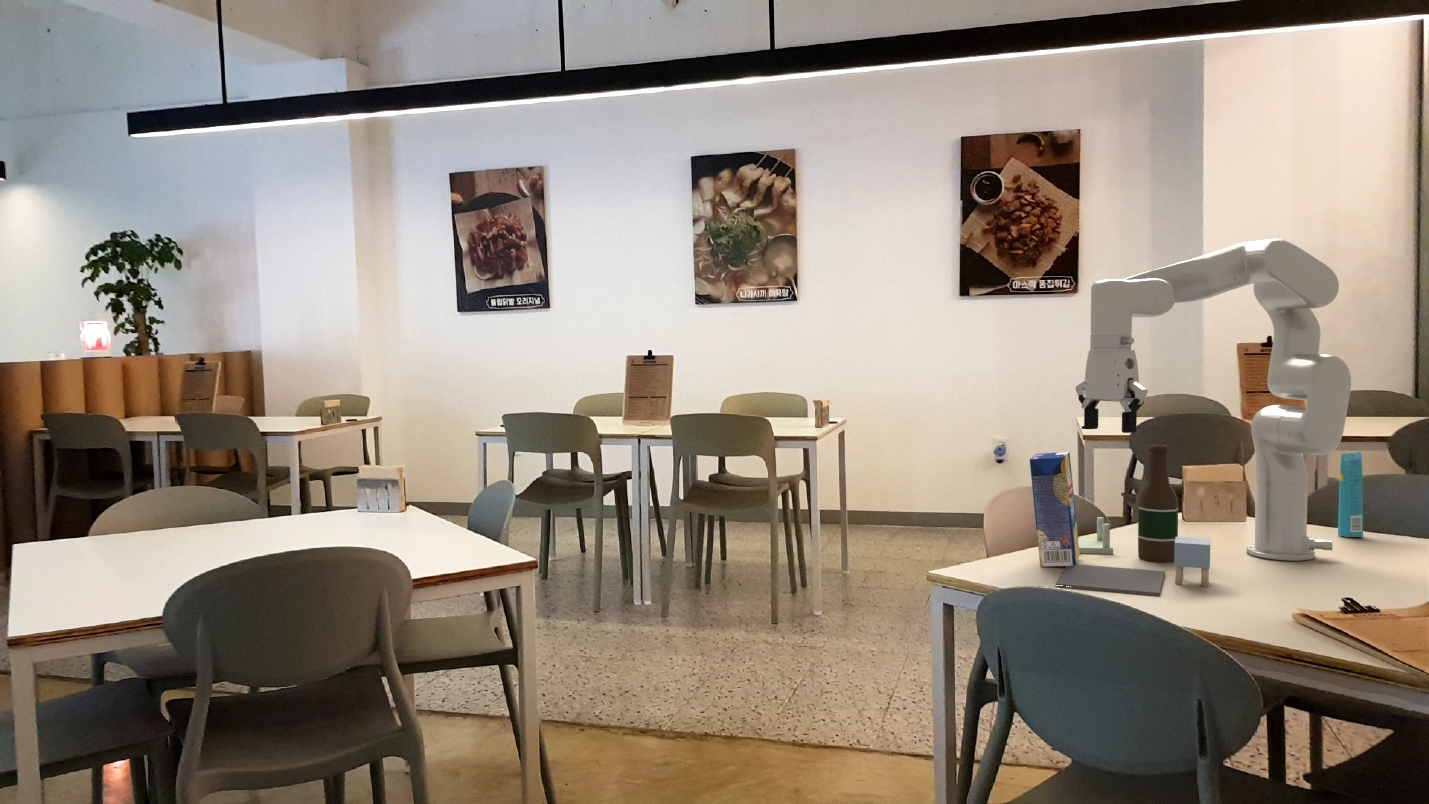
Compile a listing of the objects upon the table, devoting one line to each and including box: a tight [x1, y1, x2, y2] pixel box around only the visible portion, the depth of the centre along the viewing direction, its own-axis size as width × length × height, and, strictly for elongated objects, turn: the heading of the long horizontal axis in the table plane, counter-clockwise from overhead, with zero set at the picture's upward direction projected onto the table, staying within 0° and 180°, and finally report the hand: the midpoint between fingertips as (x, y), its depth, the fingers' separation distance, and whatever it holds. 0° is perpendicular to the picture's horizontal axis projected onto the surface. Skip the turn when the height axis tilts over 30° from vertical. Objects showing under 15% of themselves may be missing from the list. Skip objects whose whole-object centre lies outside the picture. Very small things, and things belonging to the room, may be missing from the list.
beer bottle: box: [1137, 443, 1179, 564], centre depth 211 cm, size 8×8×24 cm
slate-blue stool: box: [1173, 536, 1211, 588], centre depth 192 cm, size 6×6×8 cm
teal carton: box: [1337, 451, 1364, 538], centre depth 230 cm, size 7×5×19 cm, turn 124°
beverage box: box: [1029, 451, 1081, 567], centre depth 210 cm, size 7×11×22 cm, turn 156°
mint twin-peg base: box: [1078, 516, 1114, 555], centre depth 223 cm, size 10×10×6 cm
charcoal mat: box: [1054, 563, 1166, 597], centre depth 195 cm, size 18×18×1 cm
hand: (1109, 430), depth 199 cm, fingers open, 9 cm apart
